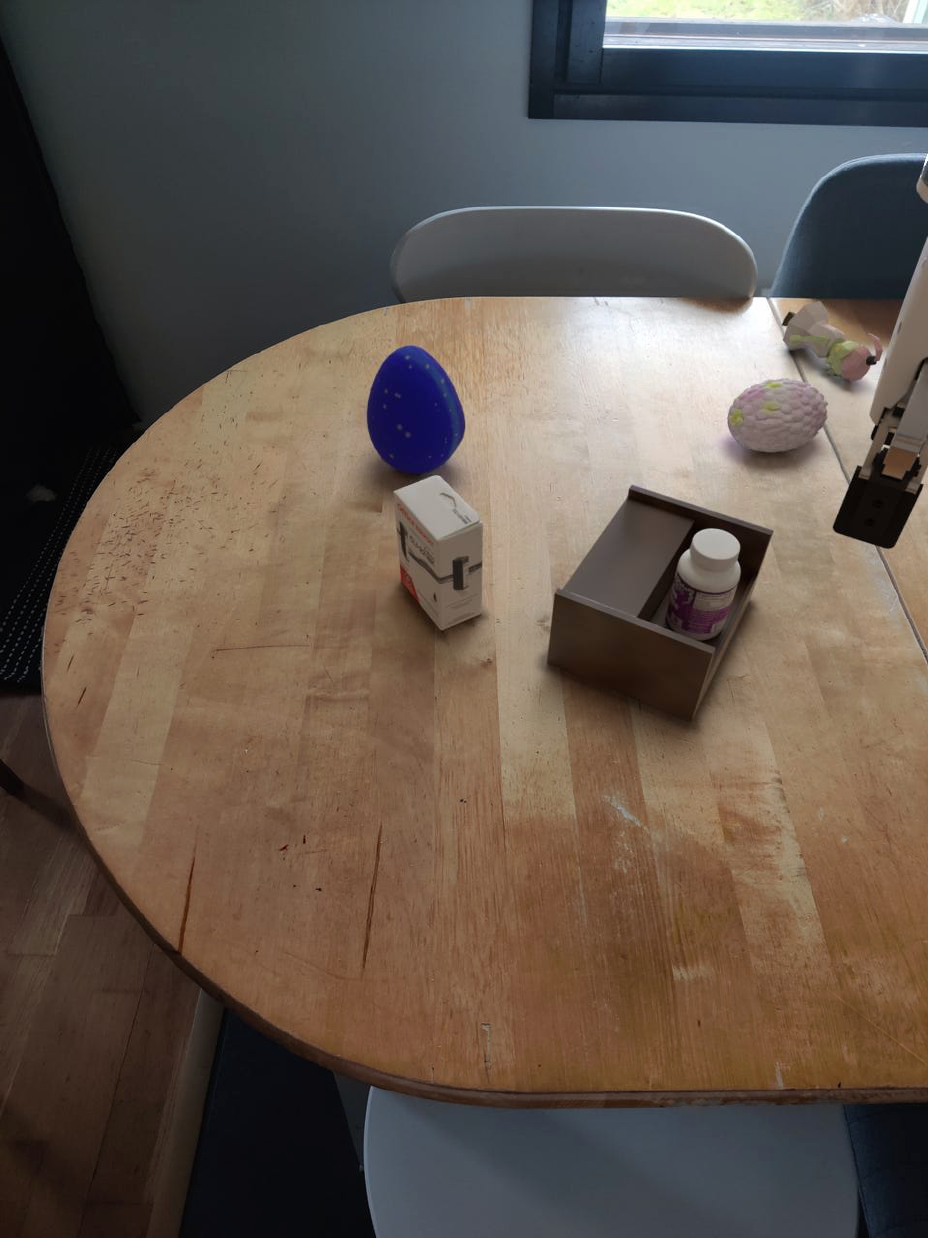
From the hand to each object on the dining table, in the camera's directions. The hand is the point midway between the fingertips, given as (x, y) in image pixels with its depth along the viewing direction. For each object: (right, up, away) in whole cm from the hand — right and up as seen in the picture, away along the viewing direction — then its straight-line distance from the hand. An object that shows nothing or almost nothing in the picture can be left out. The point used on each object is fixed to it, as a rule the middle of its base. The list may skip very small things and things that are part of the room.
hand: (880, 489), depth 48 cm
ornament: (-29, +11, +53) cm, 61 cm away
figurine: (+25, +27, +69) cm, 78 cm away
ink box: (-26, -5, +37) cm, 46 cm away
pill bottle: (-2, -8, +31) cm, 32 cm away
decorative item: (+14, +14, +56) cm, 59 cm away
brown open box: (-5, -8, +34) cm, 35 cm away
